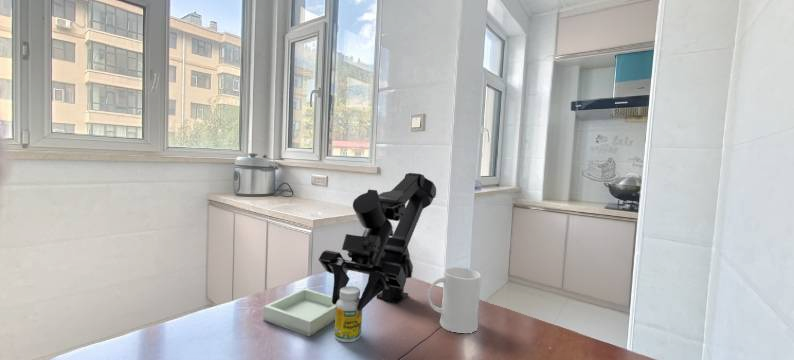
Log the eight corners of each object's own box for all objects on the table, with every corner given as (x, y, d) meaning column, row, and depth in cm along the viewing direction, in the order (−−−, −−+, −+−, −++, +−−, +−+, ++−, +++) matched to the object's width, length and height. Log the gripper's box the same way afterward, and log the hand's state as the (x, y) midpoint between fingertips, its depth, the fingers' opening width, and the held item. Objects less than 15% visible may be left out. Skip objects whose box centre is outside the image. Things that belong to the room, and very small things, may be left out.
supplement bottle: (353, 327, 72) (356, 283, 71) (365, 339, 67) (368, 292, 67) (329, 333, 69) (332, 287, 68) (340, 346, 64) (343, 296, 64)
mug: (427, 332, 72) (431, 277, 71) (423, 314, 80) (427, 264, 80) (482, 335, 72) (486, 280, 71) (472, 317, 81) (476, 267, 80)
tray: (303, 300, 84) (304, 288, 84) (345, 313, 78) (346, 300, 78) (263, 319, 72) (264, 306, 72) (309, 336, 67) (309, 321, 67)
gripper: (325, 213, 74) (289, 277, 64) (405, 225, 67) (377, 298, 57) (342, 242, 82) (312, 303, 72) (415, 255, 75) (392, 324, 65)
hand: (345, 306), depth 66 cm, fingers closed on supplement bottle, 5 cm apart
